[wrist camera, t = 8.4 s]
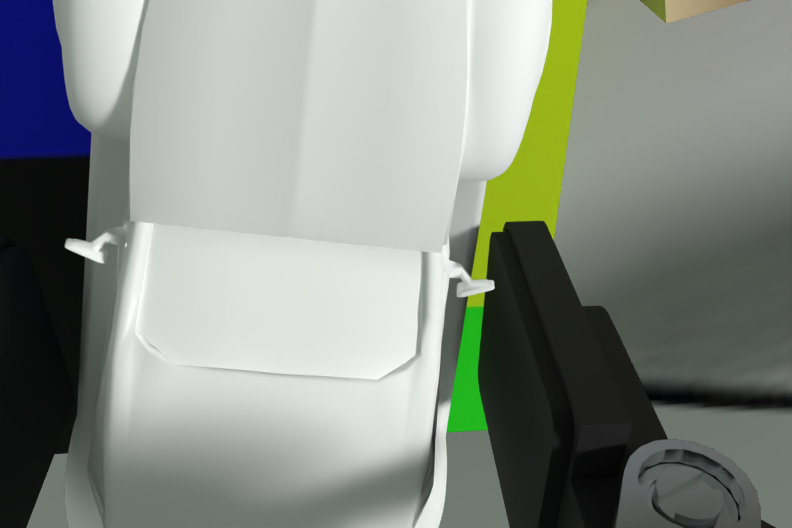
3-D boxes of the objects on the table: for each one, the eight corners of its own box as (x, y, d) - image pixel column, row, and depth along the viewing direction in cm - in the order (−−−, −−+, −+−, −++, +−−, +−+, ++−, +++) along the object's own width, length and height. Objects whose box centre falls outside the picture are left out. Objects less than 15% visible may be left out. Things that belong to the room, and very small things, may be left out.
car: (412, 507, 16) (438, 757, 12) (95, 491, 15) (14, 757, 11) (595, -139, 9) (791, -41, 5) (37, -245, 8) (-227, -223, 4)
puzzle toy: (60, -161, 18) (-167, -71, 10) (480, -165, 18) (599, -84, 10) (142, 204, 24) (43, 454, 15) (460, 193, 24) (527, 427, 16)
